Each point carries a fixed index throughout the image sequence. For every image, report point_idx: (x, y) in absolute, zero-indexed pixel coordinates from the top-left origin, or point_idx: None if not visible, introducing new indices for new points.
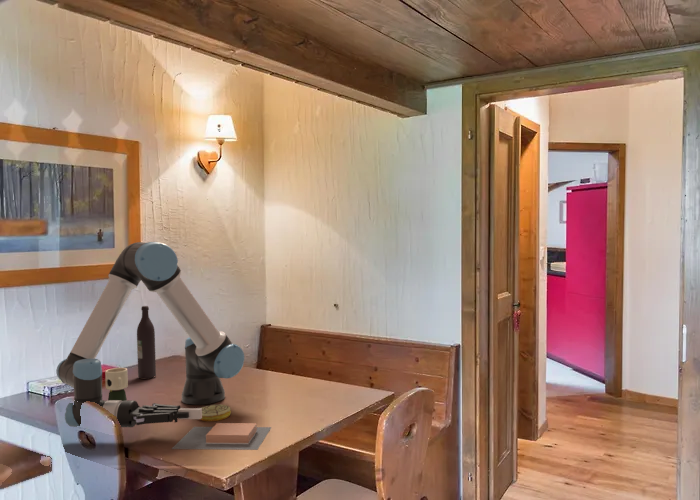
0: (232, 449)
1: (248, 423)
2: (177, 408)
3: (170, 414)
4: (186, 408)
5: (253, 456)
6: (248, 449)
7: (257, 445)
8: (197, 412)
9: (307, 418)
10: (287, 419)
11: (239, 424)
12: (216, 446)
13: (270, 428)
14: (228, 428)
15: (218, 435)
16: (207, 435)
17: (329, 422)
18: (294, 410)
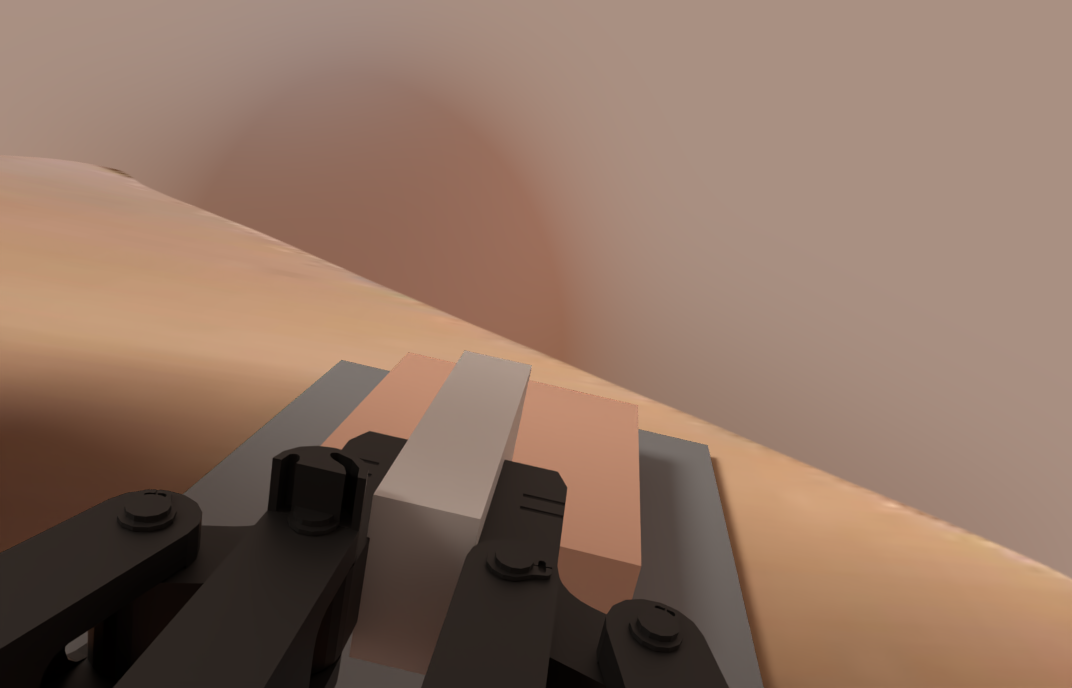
0: (723, 519)
1: (395, 371)
2: (331, 529)
3: (693, 652)
4: (421, 436)
5: (771, 476)
6: (711, 468)
7: (645, 436)
8: (520, 412)
9: (234, 285)
10: (195, 314)
11: (399, 398)
12: (680, 584)
13: (364, 365)
14: None
15: (638, 505)
16: (640, 561)
17: (338, 274)
18: (41, 274)
